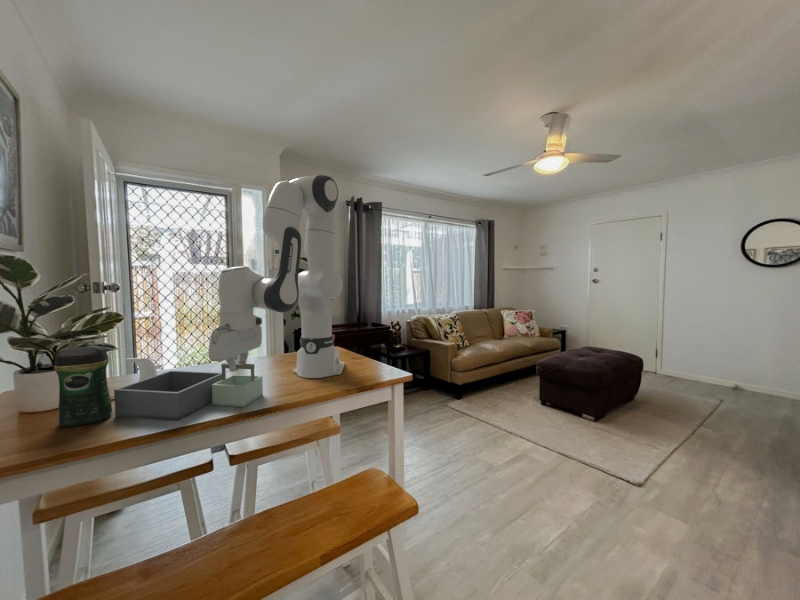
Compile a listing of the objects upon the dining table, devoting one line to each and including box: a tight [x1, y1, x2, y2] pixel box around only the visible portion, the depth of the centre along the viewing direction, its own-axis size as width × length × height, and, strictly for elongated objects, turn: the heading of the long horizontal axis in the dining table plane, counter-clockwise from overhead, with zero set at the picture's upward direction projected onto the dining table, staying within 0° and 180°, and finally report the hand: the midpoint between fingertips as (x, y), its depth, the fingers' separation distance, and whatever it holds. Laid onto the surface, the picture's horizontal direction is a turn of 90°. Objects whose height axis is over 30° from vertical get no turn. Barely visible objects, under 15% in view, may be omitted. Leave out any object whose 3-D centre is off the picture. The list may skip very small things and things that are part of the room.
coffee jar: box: [53, 346, 113, 427], centre depth 83 cm, size 10×8×19 cm
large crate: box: [113, 370, 222, 421], centre depth 93 cm, size 18×18×7 cm
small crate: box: [212, 362, 264, 408], centre depth 97 cm, size 10×10×11 cm
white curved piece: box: [125, 357, 158, 382], centre depth 101 cm, size 5×6×12 cm
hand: (238, 369), depth 97 cm, fingers open, 3 cm apart
